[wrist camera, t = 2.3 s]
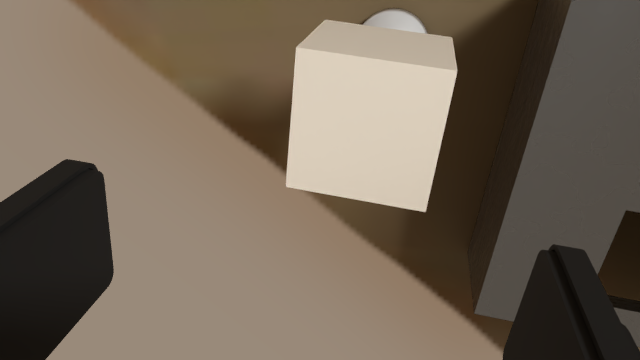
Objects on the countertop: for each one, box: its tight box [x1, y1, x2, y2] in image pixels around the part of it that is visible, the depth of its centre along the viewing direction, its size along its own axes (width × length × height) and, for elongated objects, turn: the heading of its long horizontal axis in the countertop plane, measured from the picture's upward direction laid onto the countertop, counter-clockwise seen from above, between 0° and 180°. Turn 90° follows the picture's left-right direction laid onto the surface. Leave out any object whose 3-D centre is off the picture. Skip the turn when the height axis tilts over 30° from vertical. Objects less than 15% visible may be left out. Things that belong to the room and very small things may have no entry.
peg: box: [286, 8, 458, 212], centre depth 23 cm, size 5×5×14 cm
